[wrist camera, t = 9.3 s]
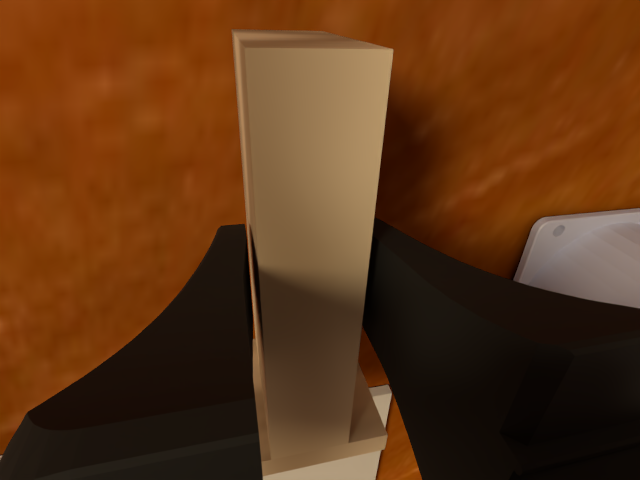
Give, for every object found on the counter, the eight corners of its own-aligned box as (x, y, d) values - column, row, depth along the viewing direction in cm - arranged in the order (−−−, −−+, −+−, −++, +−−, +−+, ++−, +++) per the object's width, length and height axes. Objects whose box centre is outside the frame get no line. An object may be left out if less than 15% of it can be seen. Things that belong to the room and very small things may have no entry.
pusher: (367, 32, 11) (464, 49, 7) (342, 339, 17) (384, 449, 13) (178, 28, 10) (152, 46, 6) (224, 357, 16) (228, 483, 12)
